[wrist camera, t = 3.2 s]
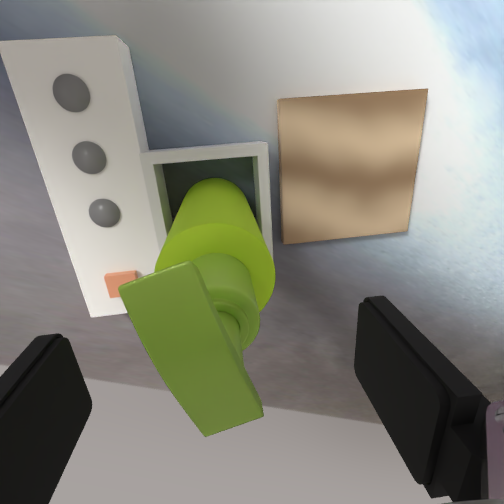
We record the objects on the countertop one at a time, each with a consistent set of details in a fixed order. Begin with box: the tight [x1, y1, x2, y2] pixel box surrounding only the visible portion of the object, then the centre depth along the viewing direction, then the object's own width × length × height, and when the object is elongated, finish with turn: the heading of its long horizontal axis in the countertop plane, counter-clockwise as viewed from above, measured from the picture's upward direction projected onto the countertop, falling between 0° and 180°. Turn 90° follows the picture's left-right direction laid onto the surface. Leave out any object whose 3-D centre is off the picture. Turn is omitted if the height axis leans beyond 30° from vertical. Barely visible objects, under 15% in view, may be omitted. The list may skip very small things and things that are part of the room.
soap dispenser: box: [118, 178, 275, 437], centre depth 17 cm, size 6×7×20 cm
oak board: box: [277, 89, 428, 245], centre depth 26 cm, size 12×12×1 cm
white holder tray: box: [0, 35, 273, 317], centre depth 23 cm, size 20×16×4 cm
